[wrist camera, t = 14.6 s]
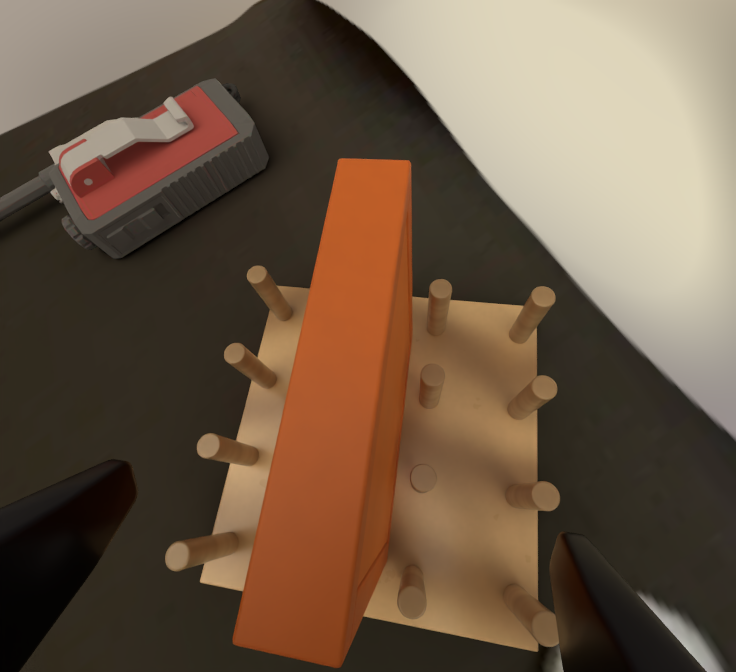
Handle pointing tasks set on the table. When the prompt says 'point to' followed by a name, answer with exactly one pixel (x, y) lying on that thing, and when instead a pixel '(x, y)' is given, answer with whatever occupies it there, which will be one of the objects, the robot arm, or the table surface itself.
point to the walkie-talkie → (148, 169)
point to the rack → (418, 467)
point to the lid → (338, 428)
